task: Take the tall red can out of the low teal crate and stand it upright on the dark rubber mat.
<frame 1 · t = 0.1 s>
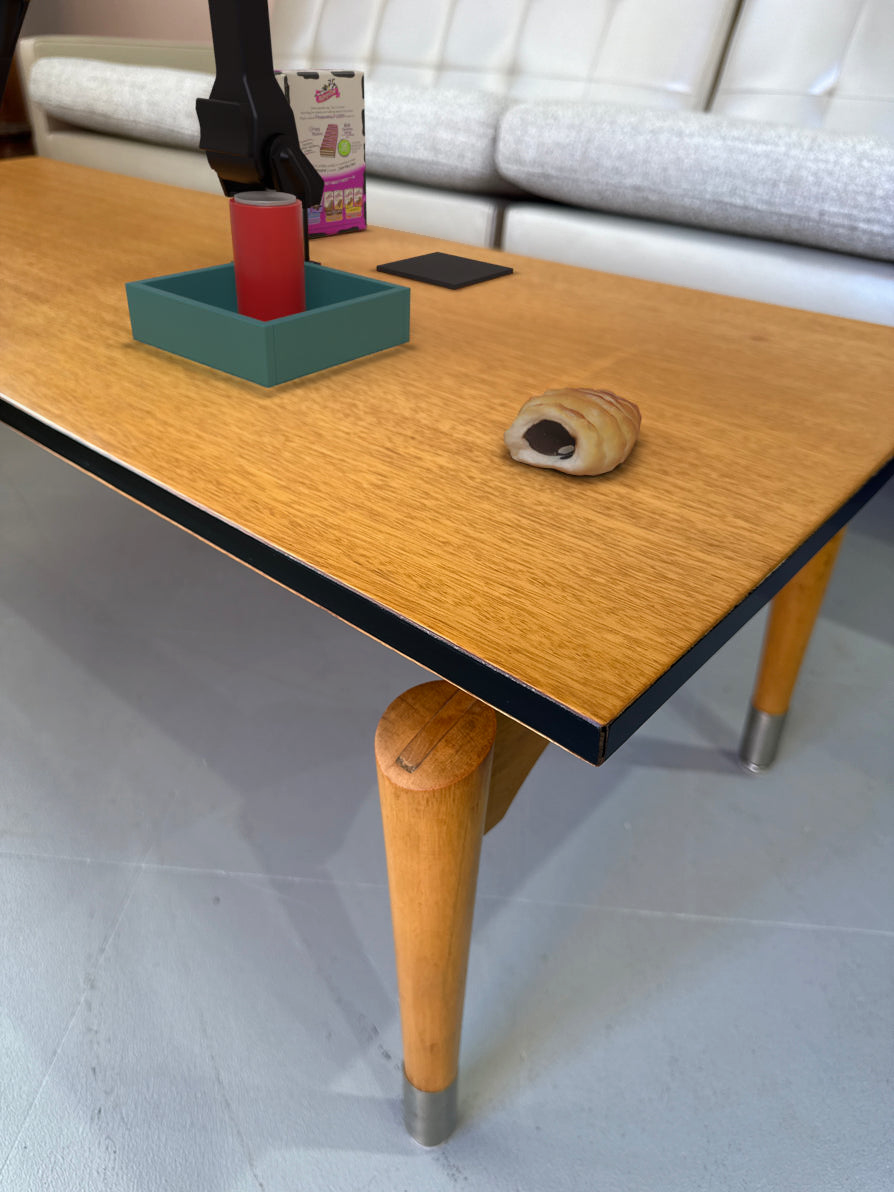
mat: (445, 272, 89), on the table
pastry: (573, 454, 52), on the table
candy bar box: (318, 234, 102), on the table
crate: (274, 346, 66), on the table
can: (274, 339, 66), resting on crate
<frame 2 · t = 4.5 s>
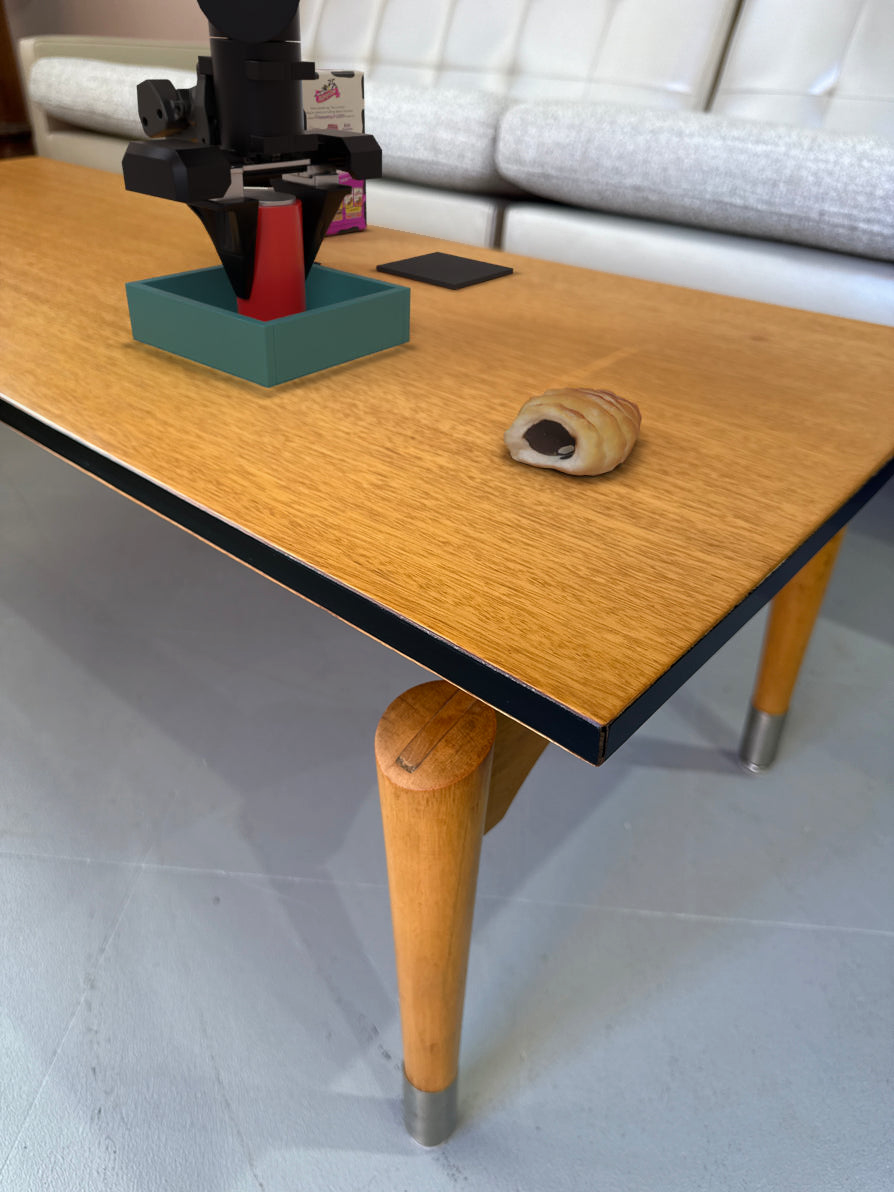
hand: (271, 291, 64), 4 cm above the table, tool pointing down, fingers closed on can, 5 cm apart
can: (274, 339, 66), point 1 cm above the table, touching crate, gripper
everything else where it was.
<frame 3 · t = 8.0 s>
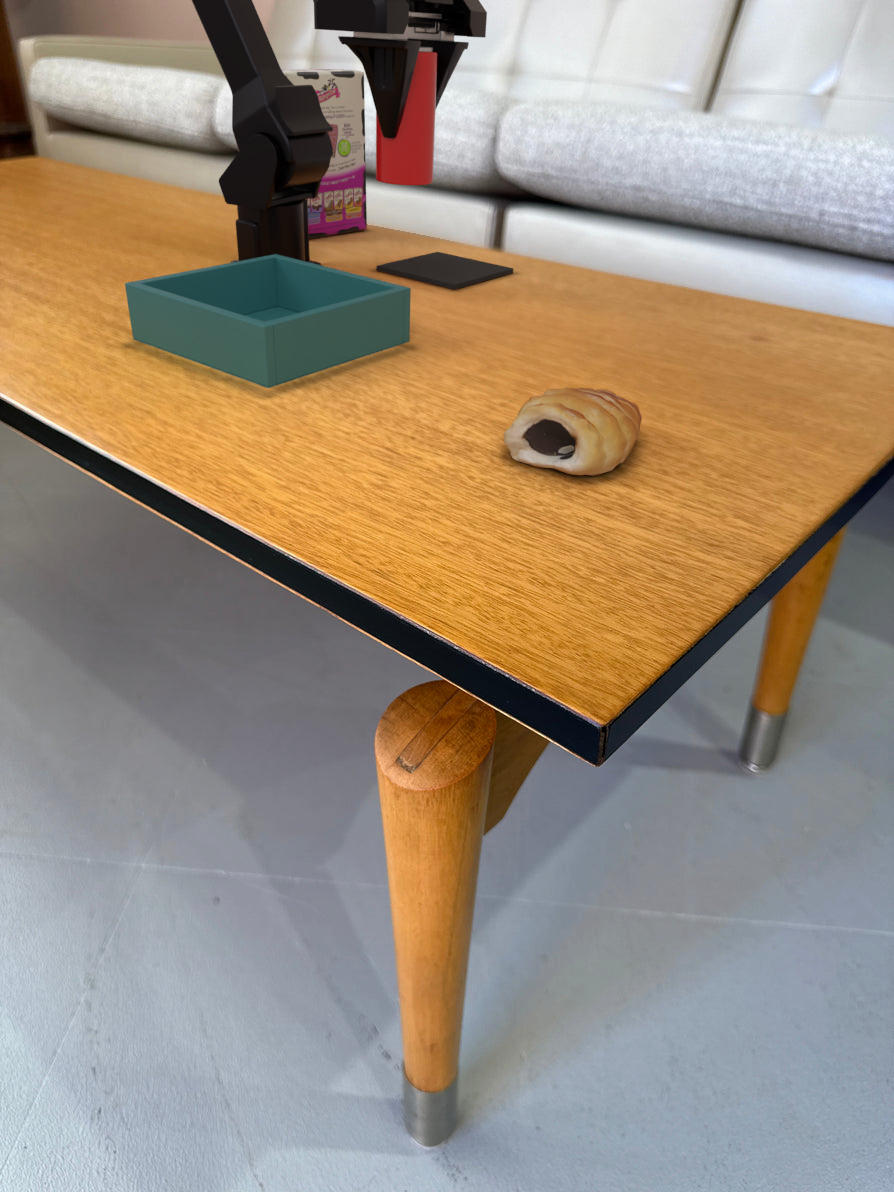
hand: (404, 135, 74), 13 cm above the table, tool pointing down, fingers closed on can, 5 cm apart
can: (404, 180, 76), point 9 cm above the table, touching gripper
everything else where it was.
when the fingers open (4 cm above the table, at t = 11.4 s): can stays where it is, resting on mat.
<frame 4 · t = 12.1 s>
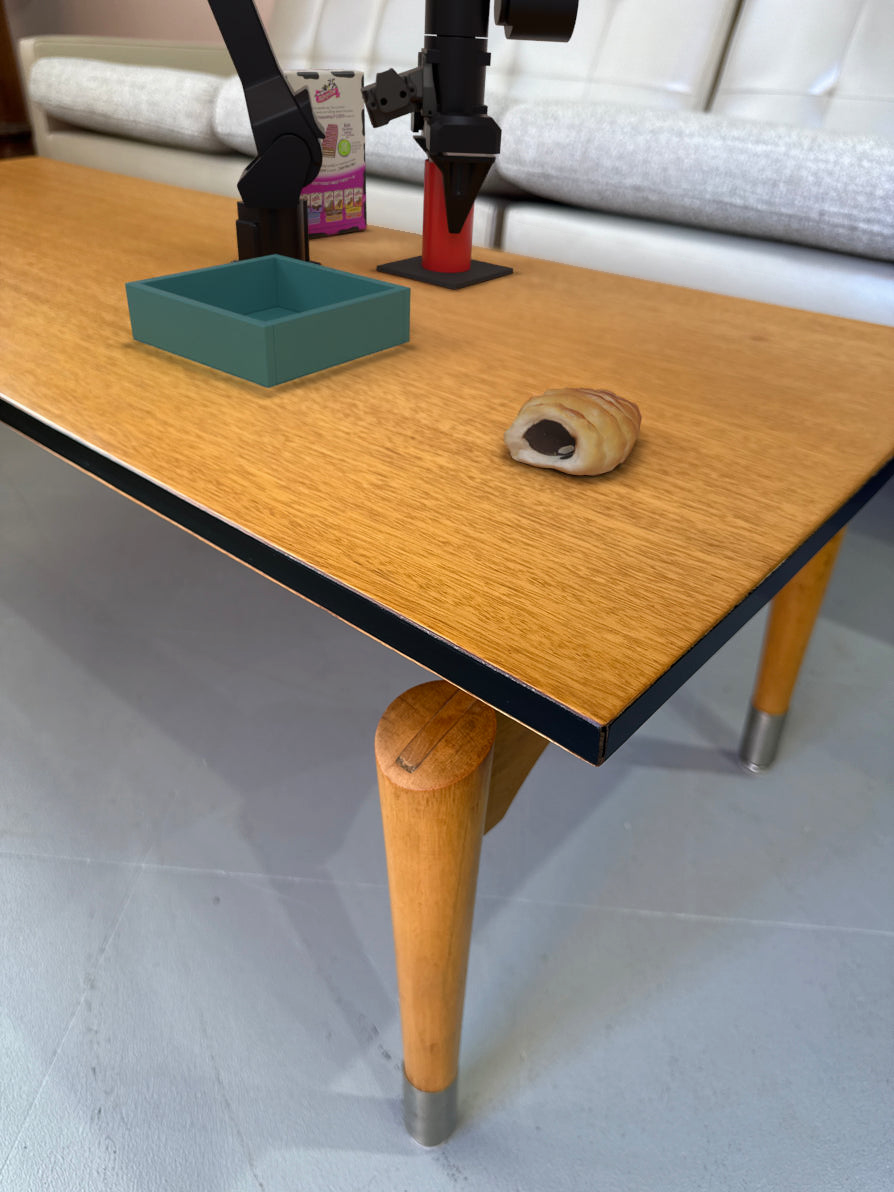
hand: (447, 223, 86), 5 cm above the table, tool pointing down, fingers open, 9 cm apart
can: (446, 267, 88), resting on mat
everything else where it was.
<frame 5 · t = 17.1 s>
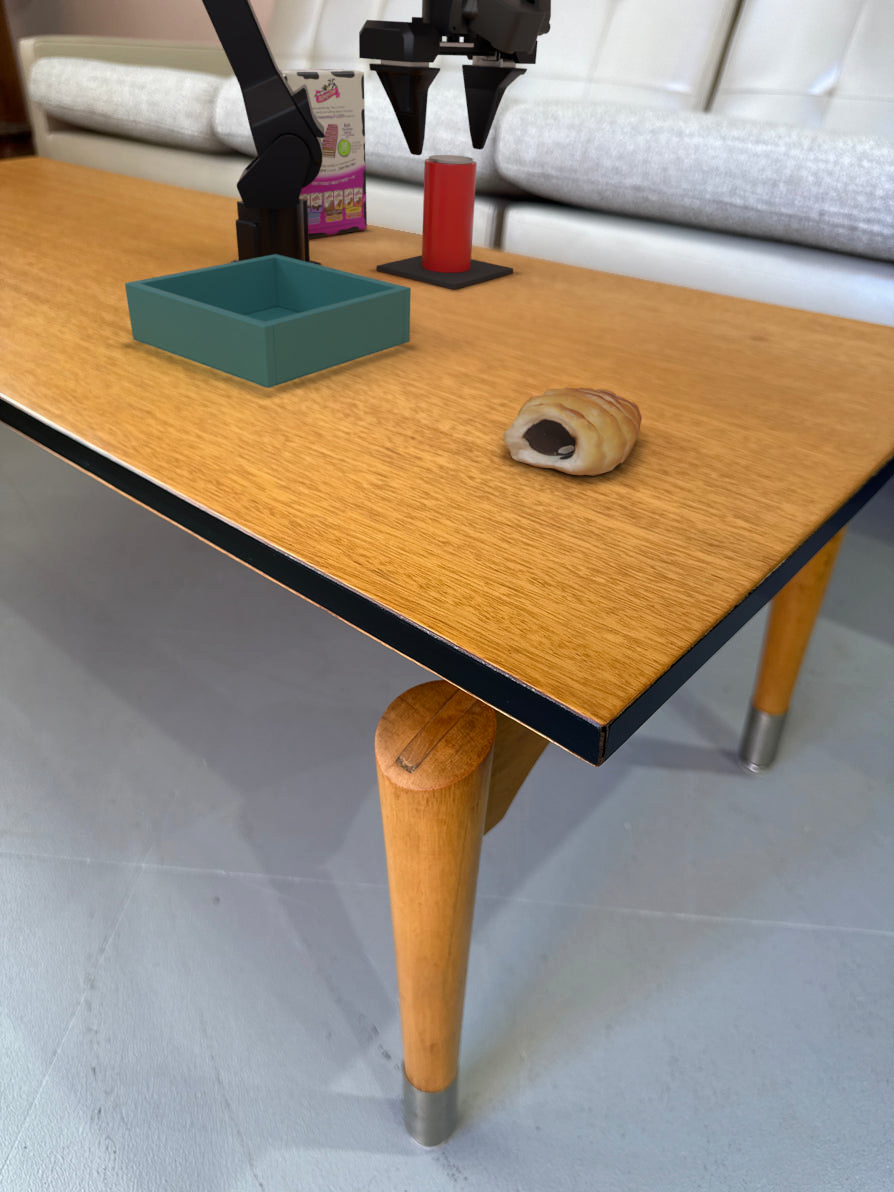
hand: (448, 151, 82), 11 cm above the table, tool pointing down, fingers open, 9 cm apart
nothing on the table moved.
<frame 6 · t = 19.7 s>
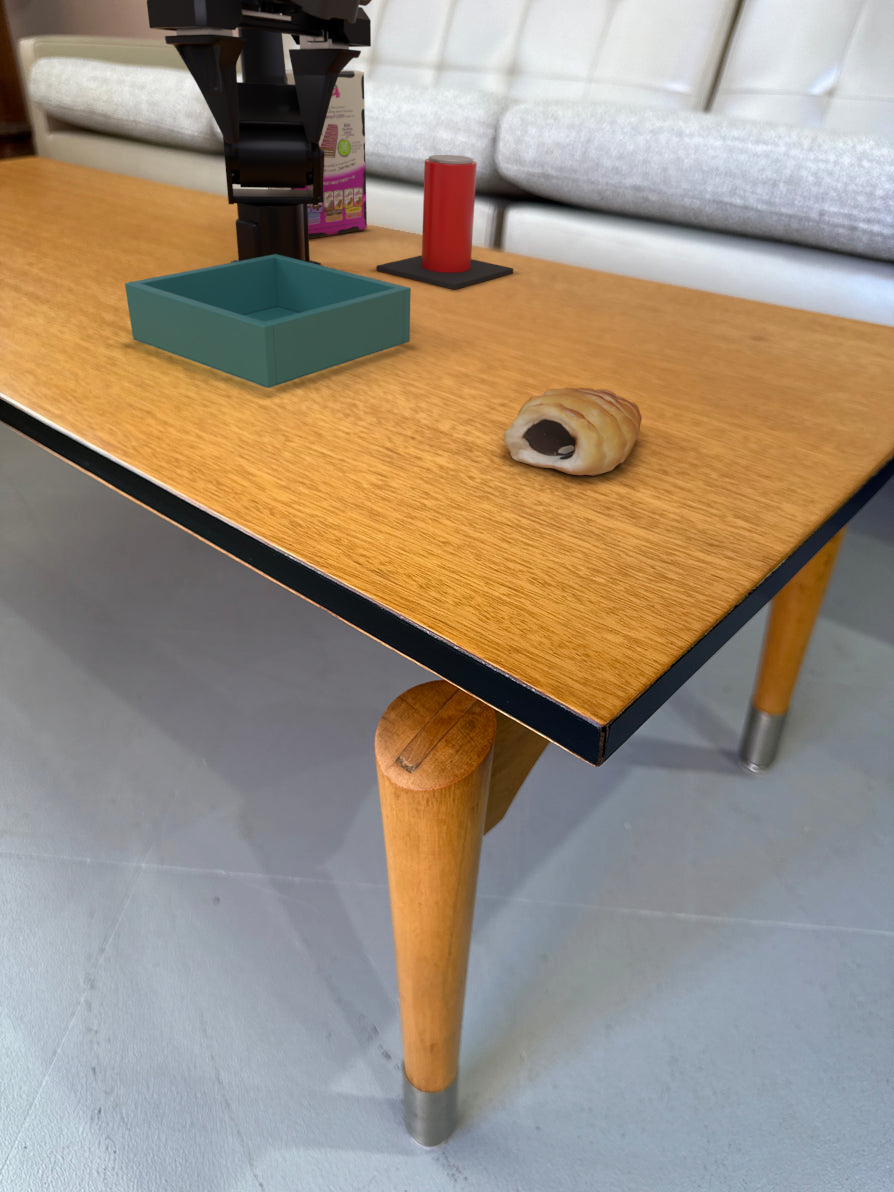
hand: (274, 143, 72), 12 cm above the table, tool pointing down, fingers open, 9 cm apart
nothing on the table moved.
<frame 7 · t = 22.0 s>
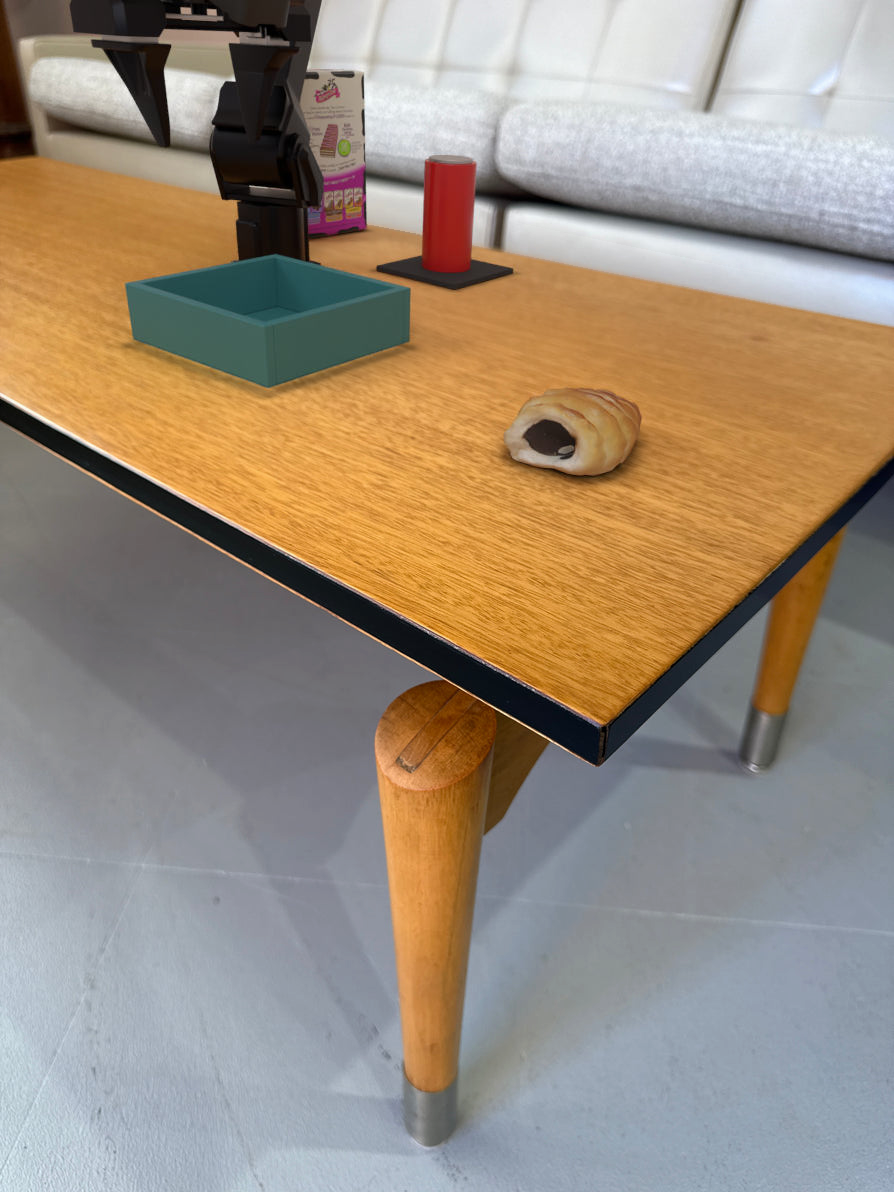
hand: (211, 143, 71), 12 cm above the table, tool pointing down, fingers open, 9 cm apart
nothing on the table moved.
at the end: can inside the target area on the mat (0.1 cm from its centre), point 0.5 cm above the mat's base; can tilted 0° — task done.
